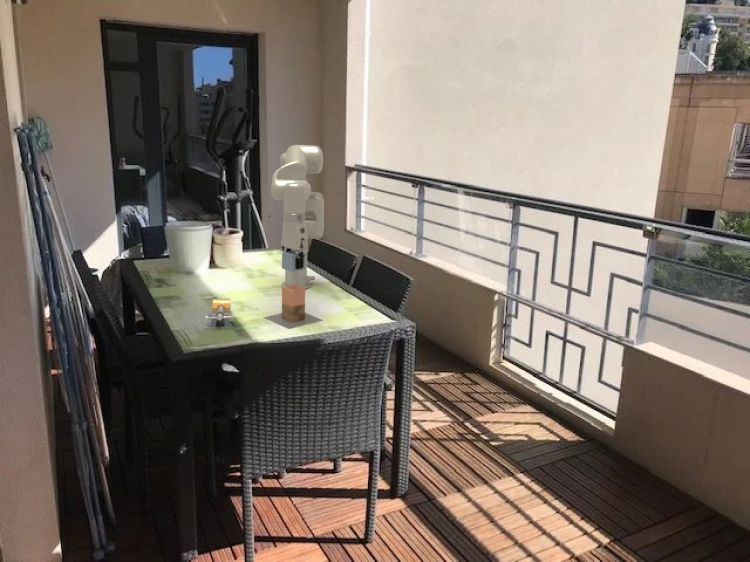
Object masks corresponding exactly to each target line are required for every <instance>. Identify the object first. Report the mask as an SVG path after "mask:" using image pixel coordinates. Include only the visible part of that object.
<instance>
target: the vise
mask: <svg viewBox="0 0 750 562" xmlns="http://www.w3.org/2000/svg"><path fill="white" fill-rule="evenodd" d="M231 305H232V304H231V298H212V308H211V309H212V312H209V313H208V315H205V316H204V320H205V321H208V322H206V326H207V327H209V328H210V327H211V328H212V327H213V328H216V327H217V323H218V321H219V322H221V321H222V320H223V322H224V327H232V326H234V325H235V323H234V322H232V321H230V319H231V320H235V315H234V314H231V313H233V311H231V307H232V306H231ZM209 319H210V321H209Z"/></svg>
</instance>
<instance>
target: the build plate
mask: <svg viewBox="0 0 750 562" xmlns="http://www.w3.org/2000/svg"><path fill="white" fill-rule="evenodd" d="M263 319H265V320H268V321H270V322H272V323H275V324H277V326H281V327H284V328H286V329H288V330H291V329H295V328H299V327H305V326H307V325H311V324H315V323H318V322H319V323H320V322H323V321H324V319H321V318H319V317H317V316H315V315H312V314H308V313H307V312H305V319H304V320H300V321H296V322H289V321H287V320H285V319H282V312H281V313H278V314H272V315H267V316H264V317H263Z"/></svg>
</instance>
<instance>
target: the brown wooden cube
mask: <svg viewBox="0 0 750 562" xmlns="http://www.w3.org/2000/svg"><path fill="white" fill-rule="evenodd" d="M281 313H282V319H285V320H287V321H289V322H296V321H300V320H304V319H305V313H306V303H305V304H303V305H298V306H294V307H291V306H288V305H286V304H283V303H282V302H281Z"/></svg>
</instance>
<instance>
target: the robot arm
mask: <svg viewBox="0 0 750 562" xmlns="http://www.w3.org/2000/svg"><path fill="white" fill-rule="evenodd" d="M279 160H280V161H279V162H280V167H279V168H277V169H276V170H275V171H274V173H272V174H273V175H272V178H271V186H270V191H271V192H270V193H271V196H272V198H273V199H274V200H277V201H283V222H282V230H281V241H280V242H279V244H280V246H281V250H282V251H283V252H288V251H295V252H296V256H297V258H296V269H302V268H303V265H304V257H305V270H299V271H294V272H291V271H288V270H285V269H284V270H285V271H284V281H283V282H281V287H286V286H292V285H297V286H300V287H303V288H305V290H307V289H309V288H310V287H311V283H310V282H311V281H314V280H315V279H316V276H315V275H308V252H309V244H308V241H309V239H312V240H313V239H321V238H322V237H323V235H324V231H325V199H324V195H323V194H322V193H321V192H318V191H312V188H311V187H312V186H311V185H310V183H309V182H308V180H307V178H306V176H307V174H314V175H315V174H316V175H318V174H319V173H321V172H322V171H323V166H324V153H323V150H322V148H320V146H318V145H305V144H293V145H291V146H289V147H288V148H287V150H286V152H283V153H281V155H280V159H279ZM306 215H312V216H306ZM299 252H301V253H300V254H299Z"/></svg>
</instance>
